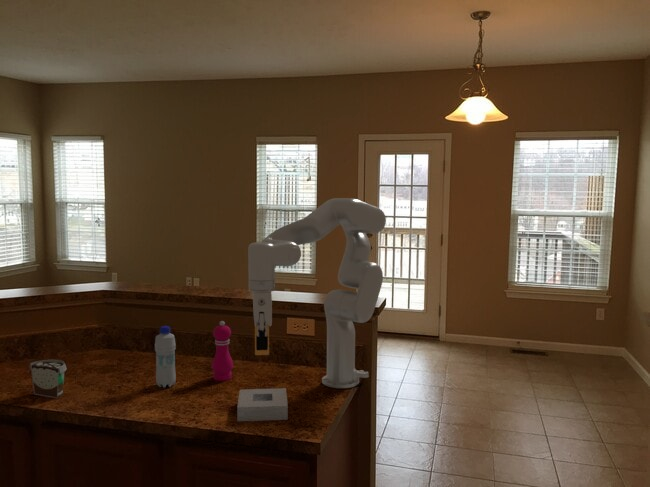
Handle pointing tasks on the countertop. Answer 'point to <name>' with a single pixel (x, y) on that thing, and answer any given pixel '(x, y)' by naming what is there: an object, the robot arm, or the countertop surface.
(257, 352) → the wooden block
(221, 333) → the pepper mill
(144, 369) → the countertop surface
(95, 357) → the countertop surface
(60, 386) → the food container
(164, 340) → the bottle
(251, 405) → the white flat block
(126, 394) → the countertop surface
